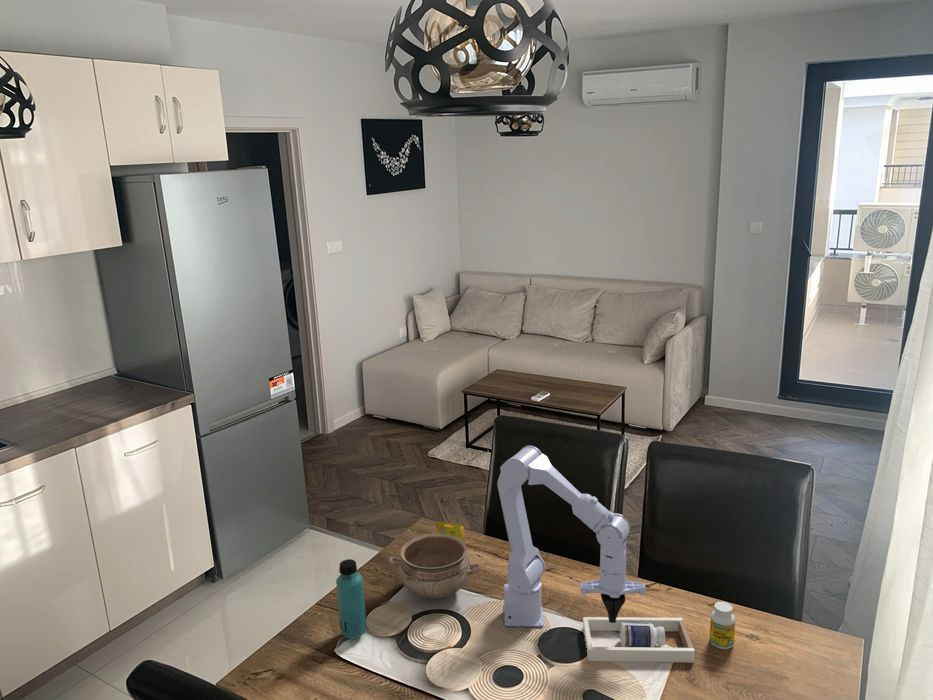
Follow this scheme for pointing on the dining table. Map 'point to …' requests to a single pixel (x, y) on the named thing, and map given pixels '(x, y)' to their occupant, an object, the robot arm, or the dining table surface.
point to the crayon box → (451, 529)
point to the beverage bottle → (351, 600)
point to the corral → (638, 652)
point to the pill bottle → (641, 635)
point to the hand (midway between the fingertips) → (611, 620)
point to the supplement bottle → (722, 626)
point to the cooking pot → (434, 565)
